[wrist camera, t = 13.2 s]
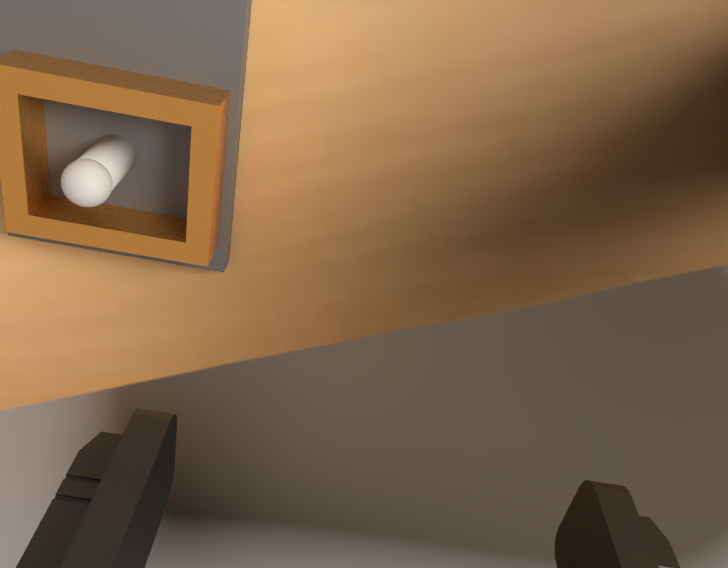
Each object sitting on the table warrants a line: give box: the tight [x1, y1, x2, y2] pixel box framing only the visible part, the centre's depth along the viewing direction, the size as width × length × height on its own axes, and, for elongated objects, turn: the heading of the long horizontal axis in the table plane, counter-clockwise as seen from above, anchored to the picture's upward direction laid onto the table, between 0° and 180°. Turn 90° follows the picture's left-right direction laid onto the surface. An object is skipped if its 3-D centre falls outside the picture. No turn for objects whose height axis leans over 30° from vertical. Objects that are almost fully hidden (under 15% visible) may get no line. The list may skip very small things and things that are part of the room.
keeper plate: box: [0, 0, 252, 272], centre depth 37 cm, size 14×18×7 cm
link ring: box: [0, 49, 231, 267], centre depth 39 cm, size 12×10×3 cm
